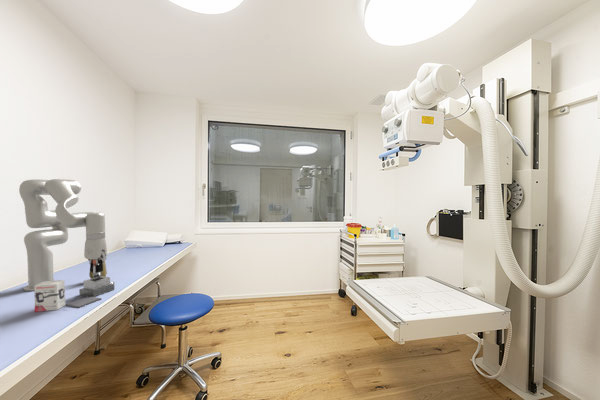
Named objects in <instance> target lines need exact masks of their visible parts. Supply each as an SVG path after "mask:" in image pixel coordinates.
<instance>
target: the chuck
mask: <svg viewBox="0 0 600 400" xmlns="http://www.w3.org/2000/svg"><path fill="white" fill-rule="evenodd" d="M114 290H115V281H111V277H110V276H106V277H104V276H100V277H95V278H92V279H91V278H89V279H85V280H83V288H80V289H79V296H83V297H88V296H91V297H98V296H101V295H104V294H106V293H109V292H112V291H114Z"/></svg>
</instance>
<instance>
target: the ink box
mask: <svg viewBox="0 0 600 400" xmlns="http://www.w3.org/2000/svg"><path fill="white" fill-rule="evenodd" d="M65 283H66V282H65V280H64V279H60V280H58V279H57V280H54V281H45V282H42V283H39V284H37V285H35V286H34V312H35V313H38V312H45V311H47V312H48V311H56V310H60V309H61V308H63V307H64V306H66V287H65V286H66V285H65Z"/></svg>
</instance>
